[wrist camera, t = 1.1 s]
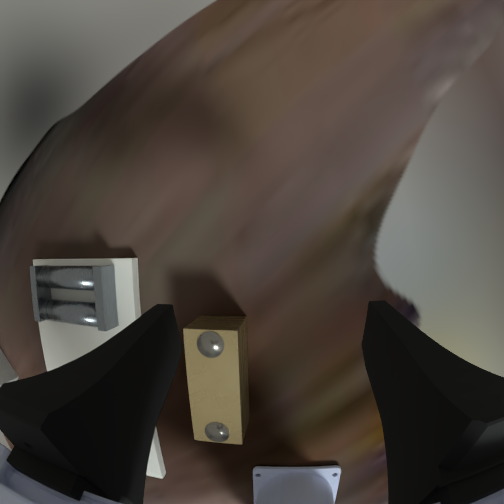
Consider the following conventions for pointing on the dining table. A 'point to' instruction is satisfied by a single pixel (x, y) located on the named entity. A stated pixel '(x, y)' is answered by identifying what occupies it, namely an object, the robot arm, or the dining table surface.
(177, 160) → the dining table surface
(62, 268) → the chain ends
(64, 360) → the board
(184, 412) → the dining table surface
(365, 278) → the dining table surface
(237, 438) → the brass block
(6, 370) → the tea bag
